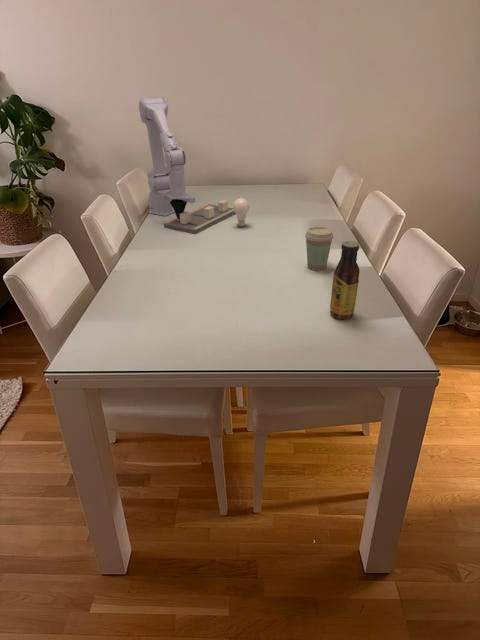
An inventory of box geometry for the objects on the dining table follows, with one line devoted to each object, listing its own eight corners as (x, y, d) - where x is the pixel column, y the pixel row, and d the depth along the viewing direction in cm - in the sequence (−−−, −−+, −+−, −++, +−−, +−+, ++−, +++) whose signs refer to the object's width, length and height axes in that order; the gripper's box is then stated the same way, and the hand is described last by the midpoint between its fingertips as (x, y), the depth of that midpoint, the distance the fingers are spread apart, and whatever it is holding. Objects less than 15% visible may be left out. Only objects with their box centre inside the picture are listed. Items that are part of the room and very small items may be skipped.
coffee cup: (332, 263, 149) (335, 227, 143) (327, 274, 142) (331, 236, 136) (306, 260, 152) (308, 224, 146) (300, 270, 145) (302, 233, 139)
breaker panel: (164, 227, 181) (164, 223, 180) (208, 207, 203) (208, 203, 202) (195, 234, 174) (195, 230, 174) (237, 212, 196) (237, 208, 195)
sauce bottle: (326, 309, 123) (333, 238, 113) (349, 308, 123) (358, 237, 113) (333, 322, 117) (340, 248, 107) (357, 320, 118) (367, 247, 108)
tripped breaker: (180, 223, 180) (179, 213, 178) (185, 220, 183) (185, 211, 181) (185, 224, 179) (184, 214, 177) (190, 221, 182) (190, 212, 180)
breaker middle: (204, 217, 185) (203, 208, 184) (209, 215, 188) (209, 206, 186) (209, 218, 184) (208, 209, 182) (214, 216, 187) (213, 207, 185)
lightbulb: (250, 223, 184) (250, 196, 178) (248, 229, 178) (248, 200, 173) (234, 223, 184) (233, 195, 179) (232, 229, 179) (231, 200, 173)
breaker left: (218, 211, 193) (218, 202, 191) (223, 208, 195) (222, 200, 193) (223, 212, 192) (222, 202, 190) (227, 209, 194) (227, 200, 192)
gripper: (155, 183, 175) (159, 218, 182) (185, 188, 168) (188, 224, 175) (167, 179, 180) (170, 213, 187) (197, 183, 173) (199, 219, 180)
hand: (180, 218), depth 181 cm, fingers closed
